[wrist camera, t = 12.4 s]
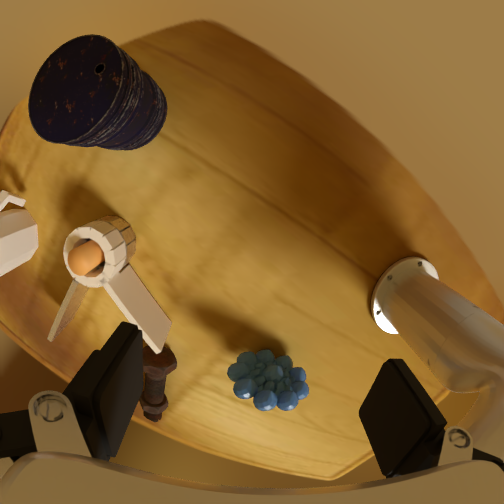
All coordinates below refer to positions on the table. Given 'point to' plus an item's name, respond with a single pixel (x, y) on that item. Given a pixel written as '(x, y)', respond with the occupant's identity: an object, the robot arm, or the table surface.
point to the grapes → (268, 380)
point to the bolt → (156, 381)
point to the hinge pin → (85, 257)
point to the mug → (15, 233)
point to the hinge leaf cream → (120, 282)
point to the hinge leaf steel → (79, 290)
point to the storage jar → (95, 97)
